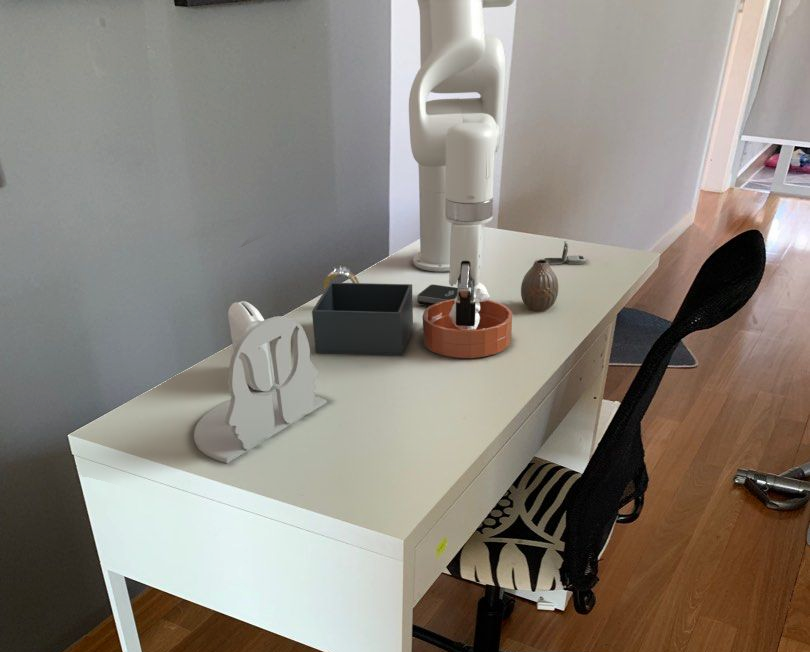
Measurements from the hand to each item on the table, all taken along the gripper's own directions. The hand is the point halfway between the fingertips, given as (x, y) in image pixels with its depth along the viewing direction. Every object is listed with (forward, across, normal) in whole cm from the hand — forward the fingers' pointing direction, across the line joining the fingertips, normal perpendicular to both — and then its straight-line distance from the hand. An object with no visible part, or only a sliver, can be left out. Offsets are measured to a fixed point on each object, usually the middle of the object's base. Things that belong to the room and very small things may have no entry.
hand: (467, 316), depth 147 cm
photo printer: (+5, +18, -33) cm, 38 cm away
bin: (+5, 0, -18) cm, 19 cm away
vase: (+5, -17, +12) cm, 21 cm away
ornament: (+5, +32, -30) cm, 44 cm away
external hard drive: (+5, -18, -5) cm, 19 cm away
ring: (+5, -14, -25) cm, 29 cm away
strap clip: (+5, -44, +17) cm, 47 cm away
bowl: (+5, 0, 0) cm, 5 cm away
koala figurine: (+4, 0, 0) cm, 4 cm away
